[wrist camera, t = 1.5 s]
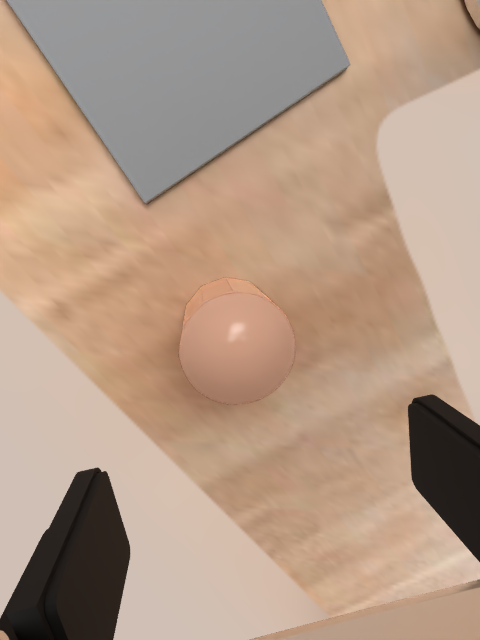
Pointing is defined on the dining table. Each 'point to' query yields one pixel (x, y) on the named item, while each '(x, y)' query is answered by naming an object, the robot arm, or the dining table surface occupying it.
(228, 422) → the dining table surface
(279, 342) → the peach domed cylinder
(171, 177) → the slate mat
